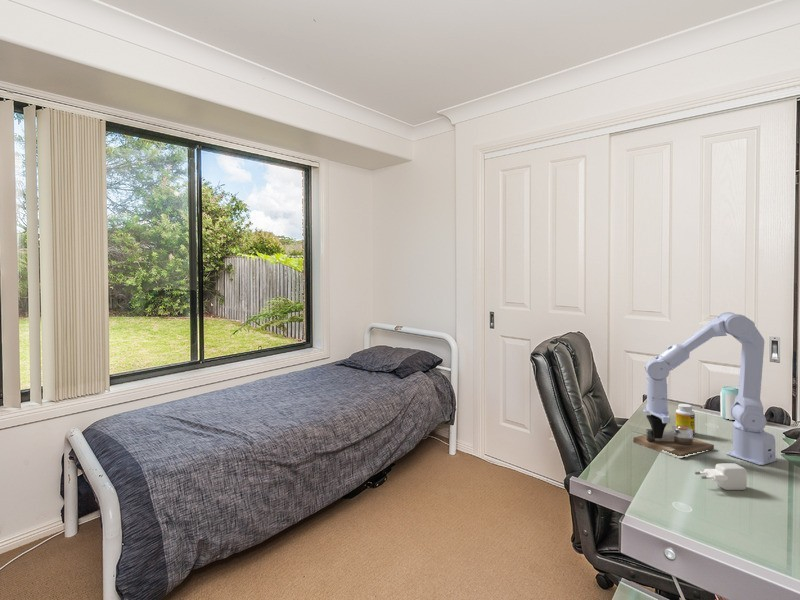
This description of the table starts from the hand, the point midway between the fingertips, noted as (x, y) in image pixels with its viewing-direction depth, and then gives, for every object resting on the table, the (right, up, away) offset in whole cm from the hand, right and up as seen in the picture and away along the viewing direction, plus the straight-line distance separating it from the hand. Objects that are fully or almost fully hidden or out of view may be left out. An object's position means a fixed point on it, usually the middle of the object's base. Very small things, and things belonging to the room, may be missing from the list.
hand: (657, 438), depth 137 cm
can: (+44, -1, +25) cm, 50 cm away
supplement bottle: (+17, -2, +11) cm, 20 cm away
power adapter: (0, -4, -27) cm, 27 cm away
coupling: (+4, -1, +1) cm, 5 cm away
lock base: (+6, -3, +1) cm, 7 cm away
